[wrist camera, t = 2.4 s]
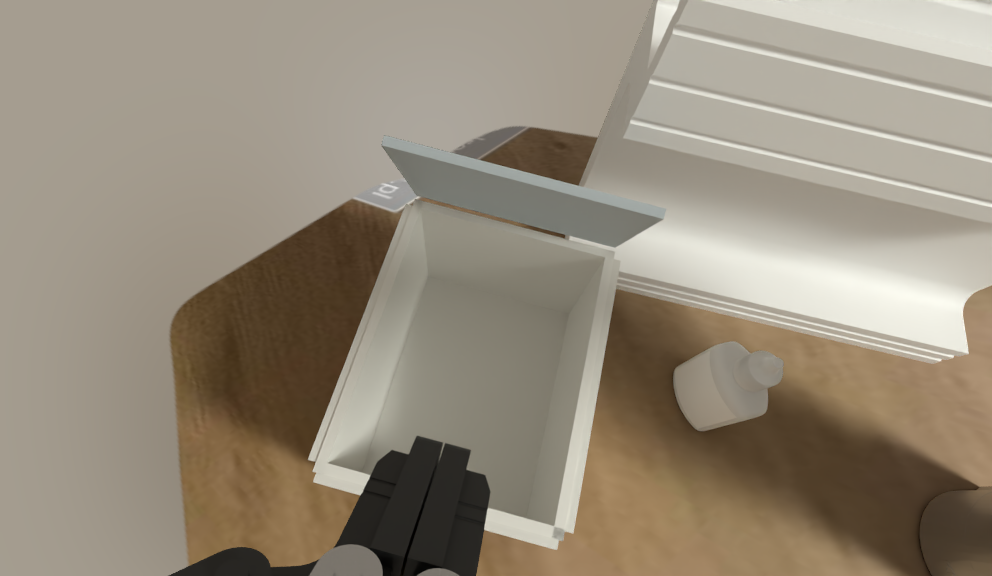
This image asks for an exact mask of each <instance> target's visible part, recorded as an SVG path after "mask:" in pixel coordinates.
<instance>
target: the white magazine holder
mask: <svg viewBox="0 0 992 576" xmlns="http://www.w3.org/2000/svg"><path fill="white" fill-rule="evenodd" d="M579 186H581V187H585V188H589V189H592V190H596V191H600V192H604V193H608V194H612V195H615V196H619V197H623V198H627V199H631V200H635V201H638V202H642V203H646V204H650V205H654V206H657V207H661V208H665V209H666V212H665V216H664V219H663V220H661V221H660V222H658V223H656V224H655V225H653V226H651V227H650V228H648V229H646V230H644V231H643V232H641V233H639V234H638V235H636V236H634V237H633V238H631V239H629V240H628V241H626V242H624V243H622V244H621V245H619V246H617V247H616V248H614V247H610V246H606V245H602V244H598V243H595V242H591V241H587V240H583V239H579V238H576V237H572V236H568V235H565V239H568V240H572V241H576V242H580V243H583V244H587V245H591V246H595V247H599V248H602V249H606V250H610V251H614V252H615V255H614V259H616V260H619V261H621V262H620V268H619V274H618V280H617V285H616V289H619V290H623V291H627V292H632V293H636V294H640V295H644V296H649V297H653V298H657V299H661V300H665V301H670V302H674V303H678V304H682V305H687V306H691V307H695V308H699V309H703V310H708V311H712V312H716V313H720V314H725V315H729V316H733V317H737V318H741V319H746V320H750V321H754V322H758V323H763V324H767V325H771V326H775V327H779V328H784V329H788V330H792V331H796V332H801V333H805V334H809V335H813V336H817V337H822V338H826V339H830V340H834V341H839V342H843V343H847V344H851V345H856V346H860V347H864V348H868V349H872V350H877V351H881V352H885V353H889V354H894V355H898V356H902V357H906V358H910V359H915V360H919V361H923V362H927V363H932V364H933V363H937V362H941V359H945V360H948V359H952V358H954V355H955V356H962V355H966V354H969V352H968V346H967V340H966V333H965V327H964V320H963V307H964V304H965V302H966V301H967V299H968V298H969V297H970V296H971V295H972V294H973V293H975V292H977V291H979V290H981V289H984V288H986V287H989V286H991V285H992V0H653V3H652V5H651V8H650V10H649V13H648V15H647V18H646V20H645V23H644V25H643V27H642V30H641V32H640V35H639V37H638V40H637V42H636V45H635V47H634V50H633V52H632V55H631V57H630V60H629V62H628V65H627V67H626V69H625V72H624V74H623V77H622V79H621V82H620V84H619V87H618V89H617V92H616V94H615V97H614V99H613V102H612V104H611V107H610V109H609V111H608V114H607V116H606V119H605V121H604V124H603V127H602V129H601V131H600V134H599V136H598V139H597V141H596V144H595V146H594V149H593V151H592V153H591V156H590V158H589V161H588V163H587V166H586V168H585V171H584V173H583V176H582V178H581V181H580V183H579Z"/></svg>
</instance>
